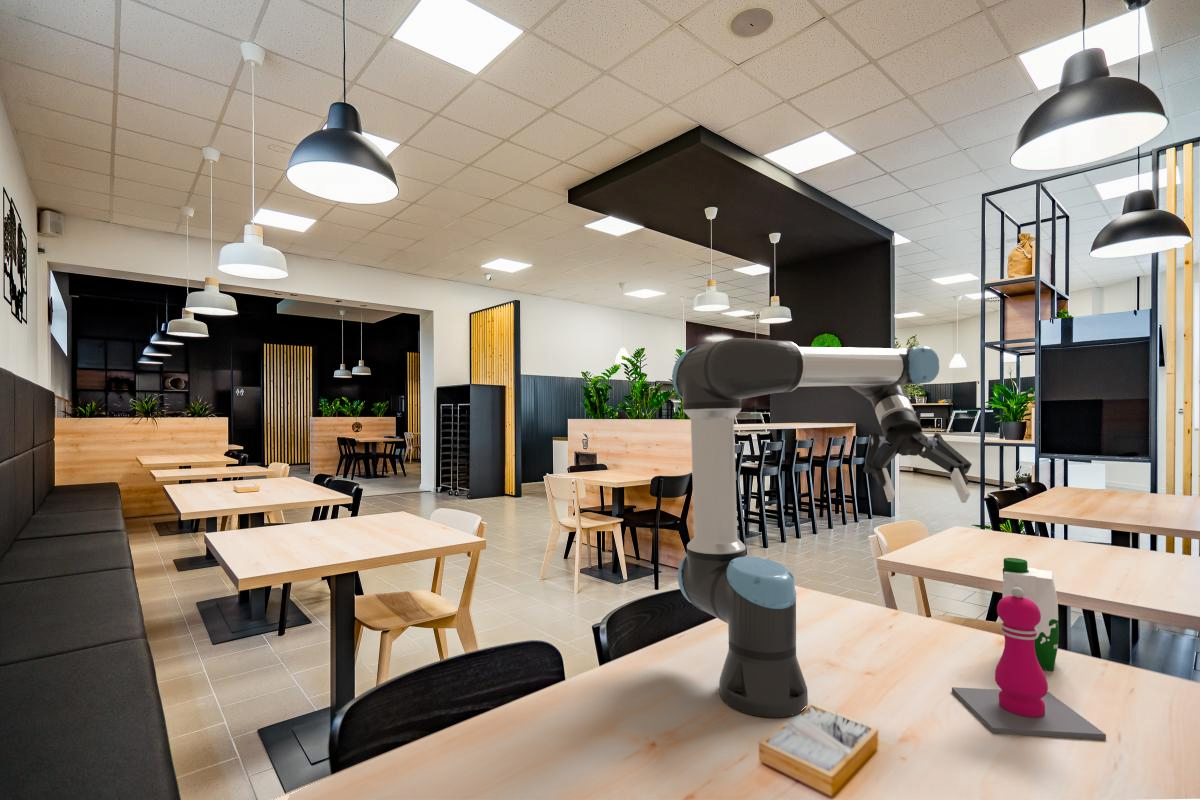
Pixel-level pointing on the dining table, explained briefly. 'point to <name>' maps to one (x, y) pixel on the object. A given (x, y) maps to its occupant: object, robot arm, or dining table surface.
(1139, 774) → the dining table surface
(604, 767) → the dining table surface
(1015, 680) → the pepper mill
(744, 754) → the dining table surface
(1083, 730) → the rubber mat
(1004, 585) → the milk carton
